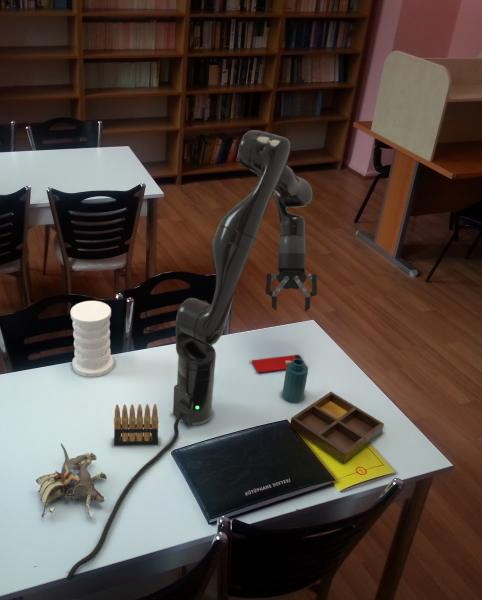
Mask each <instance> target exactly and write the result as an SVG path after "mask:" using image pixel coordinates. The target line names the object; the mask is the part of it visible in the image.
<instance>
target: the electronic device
mask: <svg viewBox="0 0 482 600" xmlns="http://www.w3.org/2000/svg"><path fill="white" fill-rule="evenodd" d="M294 359H301V360H303V358H302V357H301V356H300V355H299V354H294V355H285V356H276V357H269V358H268V357H267V358H260V359H253V360H252V361H251V363H252V364H253V366H254V368H255V370H256V371H257V373H258V374H262V373H269V372H277V371H278V372H279V371H286V367H287V365H288V364H289V363H290V362H292V361H293V360H294ZM304 364H305V365H306V363H305V362H304Z"/></svg>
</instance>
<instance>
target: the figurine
mask: <svg viewBox="0 0 482 600" xmlns="http://www.w3.org/2000/svg"><path fill="white" fill-rule="evenodd" d="M60 446H61V449H62V450H63V455H64V461H63V464H62V467H61V471H60V472H59V471H58V470H55V472H53V473H49V474H45V475H44V474H43V475H42V476H39V477H38V478H36V479H35V482H36V484H37V485H39V490H38V491H37V492H38V493H40V494H41V498H40V499H39V500H40V501H41V502H43V503H44V505H43V510H42V514H41V518H44V517H45V516H46V515H47V514H49V513H50V514H53V512H54V511H55V510H56V508H55V507H52V508H48V506H49V505H50V504H51V503H52V502H54V501H56V500H61V498H62V497H63V498H64V499H65V501H66V502H68V500H67V498H71V499H73V500H75V501H77V500H84V499H86V514H87V516H88V517H89V519H90V520H93V517H94V516H95V511H94V510H93V509H91V508H90V503H93V501H94V502H97V503H98V504H102V503H104V502H105V501H106V499H105V497H104V496H103V495H102V494H101V492H100V491H99V490H98V489H97V488H95V484H94V482H96V481H98V480H101V479H104V480H106V481H107V480H108V476H107V473H104V472H102V471H101V472H100V473H98V474H96V475H95V476H93V477H92V476H91V475H92V474H91V473H90V472H89V470H88V469H87V468H88V467H89V466H90V465H92V461H97V460H98V458H97V455H96V454H94V452H92V451H91V452H90V453H89V452H86V453H84V454H80V455H76V457H72V458H69V455H68V452H67V449H66V447H65V445H63V443H62V442H61V443H60ZM70 490H72V493H71V492H70ZM47 508H48V510H49V511H48V512H46V509H47ZM45 512H46V513H45ZM90 512H93V515H92V516H91V513H90Z"/></svg>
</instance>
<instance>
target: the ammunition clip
mask: <svg viewBox="0 0 482 600" xmlns="http://www.w3.org/2000/svg"><path fill="white" fill-rule="evenodd" d="M120 410H121V411H120ZM151 410H152V413H151ZM136 411H137V412H136ZM113 417H114V418H113V446H115V447H117V446H119V447H122V446H123V447H126V446H127V447H128V446H159V415H158V406H157V403H154V404H153V406H152V409H150V405H149V404H148V403H146V405H145V408H144V416H143V408H142V405H141V404H138V406H137V409H135V405H134V404H133V403H132V404H131V405H130V408H129V415H128V407H127V405H126V404H123V406H122V409H120V407H119V404H116V405H115V408H114V416H113Z"/></svg>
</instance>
